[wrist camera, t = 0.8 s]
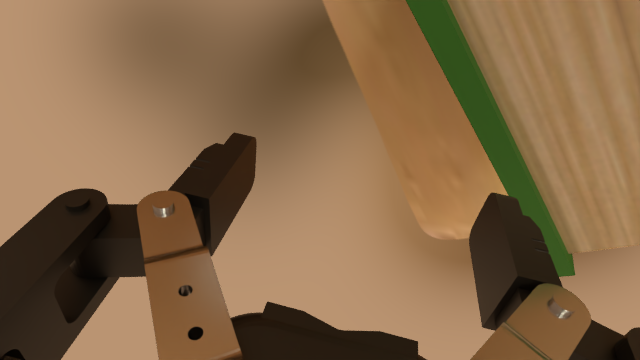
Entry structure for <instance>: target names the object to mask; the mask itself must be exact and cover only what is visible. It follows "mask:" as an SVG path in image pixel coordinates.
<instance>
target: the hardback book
mask: <svg viewBox="0 0 640 360" xmlns="http://www.w3.org/2000/svg"><path fill="white" fill-rule="evenodd" d="M406 2H407V4H408V5H409V7H410V9H411V11H412V13H413V15H414V17H415V19H416V21H417V23H418V24H419V26H420V28H421V30H422V32H423V34H424V36H425V38H426V40H427V42H428V43H429V45H430V47H431V49H432V51H433V53H434V55H435V57H436V59H437V61H438V62H439V64H440V66H441V68H442V70H443V72H444V74H445V76H446V78H447V80H448V81H449V83H450V85H451V87H452V89H453V91H454V93H455V95H456V97H457V98H458V100H459V102H460V104H461V106H462V108H463V110H464V112H465V114H466V116H467V117H468V119H469V121H470V123H471V125H472V127H473V129H474V131H475V133H476V135H477V136H478V138H479V140H480V142H481V144H482V146H483V148H484V150H485V152H486V154H487V155H488V157H489V159H490V161H491V163H492V165H493V167H494V169H495V171H496V172H497V174H498V176H499V178H500V180H501V182H502V184H503V186H504V188H505V190H506V191H507V193H508V195H509V196H510V197H514V198H517V199H518V202H519V205H520V207H521V210H522V213H523V215H525V216H529V217H530V218H531V219H532V220H533V221H534V222H535V223H536V225H537V226H538V227H539V228H540V229H541V232H542V235H543V237H544V240H545V244H546V245H547V248H548V250H549V254H550V255H551V258H552V261H553V263H554V266H555V268H556V271H557V274H558V276H559V277H561V276H572V275H575V271H574V264H573V257H572V253H579V252H588V251H596V250H605V249H613V248H621V247H629V246H637V245H640V0H406Z"/></svg>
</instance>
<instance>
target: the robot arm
mask: <svg viewBox="0 0 640 360" xmlns="http://www.w3.org/2000/svg"><path fill="white" fill-rule="evenodd" d="M255 163H256V138H255V137H251V136H247V135H243V134H238V133H233V134H232V135H231V136H230V137H229V139H228V140H227V141H226V142H225V144H224V145H223V144H218V143H215V144H213V145H211V146H209V147H207V148H206V149H204V150H203V151H202V152H201V153H200V154H199V156H198V157H197V158H196V160H194V161H193V162H192V163H191V165H190V167H188V168H187V169H186V170H185V171H184V173H183V174H182V175H181V176H180V177H179V178H178V179H177V180H176V182H175V183H174V184H173V185H172V186H171V187H170V189H169V190H168V191H158V192H154V193H152V194H150V195H147V196H146V197H144V198H143V199H142V200H141V201H140V202H139V203H138V204H134V205H123V204H122V205H119V204H108V202H107V198H106V196H105V195H104V194H103V193H102V192H100V191H98V190H94V189H76V190H72V191H68V192H66V193H63V194H61V195H59V196H58V197H56V198H55V199H54V200H53V201H51V202H50V203H49V204H48V205H47V206H46V207H45V208H43V209H42V210H41V211H40V212H39V213H38V214H37V215H36V216H35V217H33V218H32V219H31V220H30V221H29V222H28V223H27V224H26V225H24V226H23V227H22V228H21V229H20V230H19V231H18V232H16V233H15V234H14V235H13V236H12V237H11V238H10V239H9V240H7V241H6V242H5V243H4V244H3V245H2V246H1V247H0V360H61V358H62V357H63V355H64V354H65V353H66V351H67V350H68V348H69V347H70V346H71V344H72V343H73V342H74V340H75V339H76V337H77V336H78V335H79V333H80V332H81V330H82V329H83V328H84V326H85V325H86V323H87V322H88V321H89V319H90V318H91V316H92V315H93V314H94V312H95V311H96V309H97V308H98V307H99V305H100V303H101V302H102V301H103V300H104V298H105V297H106V295H107V294H108V293H109V291H110V290H111V288H112V287H113V285H114V284H115V283H116V281H117V280H118V279H119V277H138V276H139V277H140V276H141V277H142V276H146V279H147V285H148V292H149V299H150V305H151V311H152V318H153V324H154V331H155V337H156V344H157V350H158V357H159V360H426V359H425V358H423V357H422V356H420V355H418V341H414V340H410V339H407V338H403V337H399V336H395V335H391V334H388V333H384V332H380V331H343V330H338V329H336V328H334V327H332V326H330V325H328V324H327V323H325V322H323V321H321V320H319V319H317V318H315V317H313V316H311V315H310V314H308V313H306V312H304V311H301V310H297V309H294V308H290V307H286V306H282V305H278V304H275V303H271V302H267V304H266V306H265V309H264V311H263V313H248V314H243V315H238V316H235V317H232V318H230V316H229V313H228V309H227V306H226V303H225V300H224V297H223V294H222V291H221V288H220V284H219V281H218V278H217V275H216V272H215V269H214V266H213V262H212V260H211V256H212V255H213V253H214V252H215V250H216V249H217V247H218V245H219V243H220V242H221V240H222V238H223V237H224V235H225V233H226V231H227V230H228V228H229V226H230V225H231V223H232V221H233V219H234V218H235V216H236V214H237V213H238V211H239V209H240V208H241V206H242V204H243V203H244V201H245V199H246V197H247V195H248V194H249V192H250V190H251V188H252V186H253V182H254V178H255ZM469 246H470V252H471V258H472V264H473V270H474V277H475V283H476V290H477V297H478V303H479V309H480V316H481V322H482V327H483V328H487V329H491V330H495V332H494V333H493V334H492V336H491V337H490V338H489V339H488V340H487V341H486V343H485V344H484V345H483V346H482V347H481V348H480V349H479V350H478V351H477V353H476V354H475V355H474V356H473V357H472V358H471V359H470V360H640V328H633V329H631V330H630V331H629V332H628V333H627V334H626V335H624V336H623V335H621V334H619V333H617V332H615V331H613V330H611V329H609V328H607V327H605V326H603V325H601V324H599V323H597V322H595V321H593V320H592V319H591V315H590V313H589V311H588V309H587V308H586V306H585V304H584V303H583V302H582V301H581V300H580V299H579V298H578V297H577V296H576V295H574V294H573V293H572V292H570V291H568V290H567V289H564V288H563V287H562V284H561V281H560V279H559V276H558V274H557V271H556V268H555V266H554V263H553V261H552V258H551V255H550V254H549V250H548V248H547V245H546V244H545V240H544V237H543V235H542V232H541V229H540V228H539V227H538V226H537V225H536V223H535V222H534V221H533V220H532V219H531V218H530V217H529V216H525V215H523V213H522V210H521V207H520V205H519V202H518V199H517V198H514V197H510V196H506V195H501V194H497V193H491V194H490V195H489V196H488V198H487V199H486V201H485V203H484V205H483V207H482V209H481V211H480V213H479V215H478V217H477V219H476V221H475V223H474V225H473V227H472V229H471V233H470V238H469Z"/></svg>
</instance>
